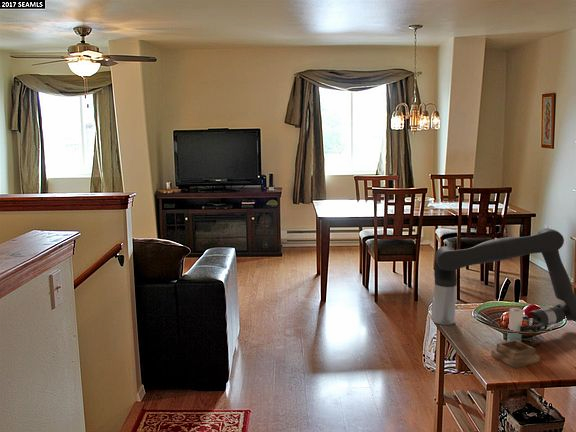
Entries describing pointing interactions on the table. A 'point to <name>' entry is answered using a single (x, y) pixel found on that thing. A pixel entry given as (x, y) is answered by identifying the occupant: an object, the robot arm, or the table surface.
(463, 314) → the table surface
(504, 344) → the stand
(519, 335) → the roll
